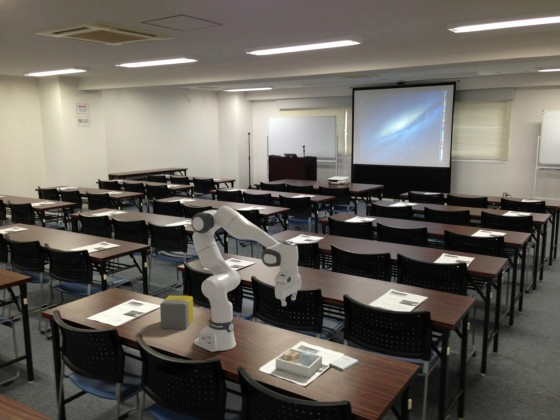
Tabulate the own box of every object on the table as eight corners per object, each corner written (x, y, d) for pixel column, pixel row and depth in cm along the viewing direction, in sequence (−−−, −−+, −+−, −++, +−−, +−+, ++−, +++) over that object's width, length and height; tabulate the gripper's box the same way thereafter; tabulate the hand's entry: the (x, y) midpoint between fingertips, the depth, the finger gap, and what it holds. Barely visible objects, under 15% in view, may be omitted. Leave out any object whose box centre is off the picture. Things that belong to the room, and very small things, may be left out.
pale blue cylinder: (299, 368, 216) (299, 354, 215) (304, 364, 221) (304, 350, 220) (309, 371, 214) (309, 356, 213) (314, 366, 218) (314, 352, 217)
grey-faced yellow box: (198, 314, 288) (197, 291, 285) (186, 329, 264) (185, 304, 261) (174, 313, 289) (173, 290, 287) (160, 328, 265) (159, 303, 263)
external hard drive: (328, 366, 222) (344, 357, 231) (342, 372, 216) (358, 363, 225) (329, 363, 222) (344, 354, 231) (342, 368, 216) (358, 359, 225)
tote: (275, 368, 218) (275, 358, 217) (289, 357, 230) (289, 347, 229) (309, 378, 209) (309, 368, 209) (321, 366, 221) (322, 356, 220)
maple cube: (284, 364, 221) (284, 354, 220) (289, 360, 225) (289, 350, 224) (293, 366, 218) (293, 356, 217) (298, 362, 222) (298, 352, 222)
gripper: (293, 268, 232) (293, 295, 234) (272, 279, 214) (272, 307, 216) (304, 270, 229) (304, 297, 231) (284, 281, 211) (284, 310, 213)
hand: (288, 302), depth 223 cm, fingers open, 8 cm apart
